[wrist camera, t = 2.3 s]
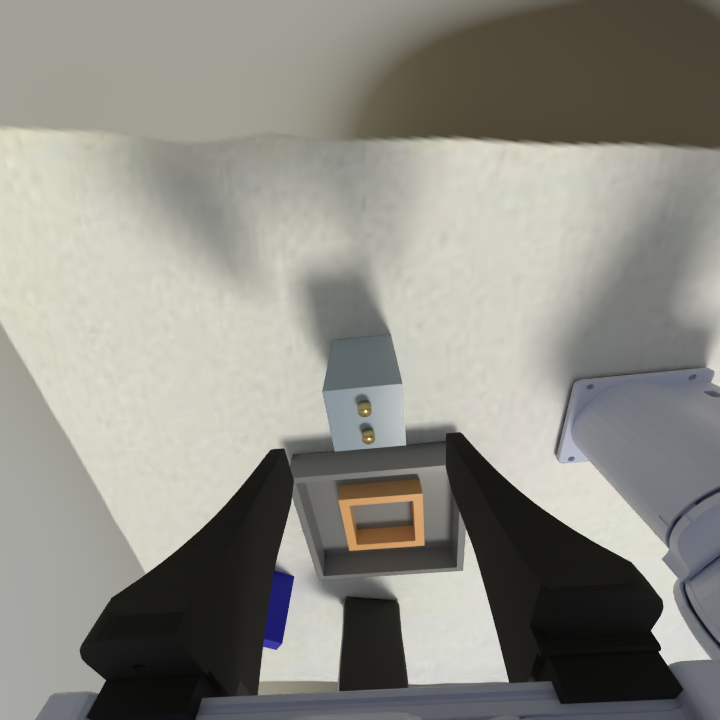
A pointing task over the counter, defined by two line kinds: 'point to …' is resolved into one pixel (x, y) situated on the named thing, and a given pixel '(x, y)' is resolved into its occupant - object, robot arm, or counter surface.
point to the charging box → (378, 511)
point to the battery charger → (371, 646)
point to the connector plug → (364, 394)
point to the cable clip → (277, 609)
